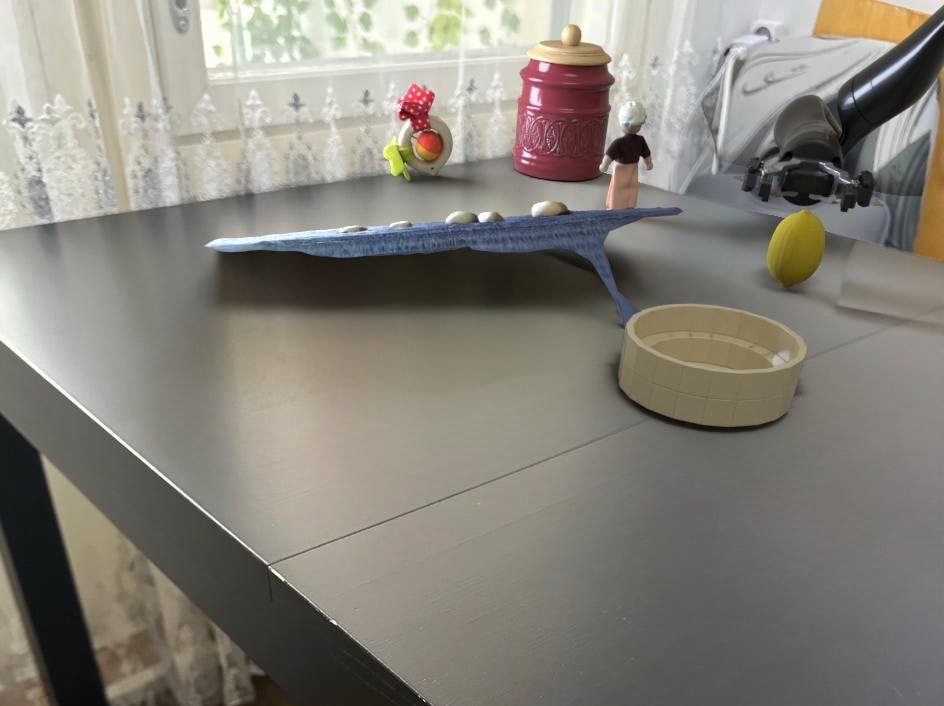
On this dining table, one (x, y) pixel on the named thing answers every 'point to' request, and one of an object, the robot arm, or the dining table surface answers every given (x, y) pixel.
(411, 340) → the dining table surface
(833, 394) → the dining table surface
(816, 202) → the robot arm
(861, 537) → the dining table surface
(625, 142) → the grandmother figurine
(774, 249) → the lemon
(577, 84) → the kitchen canister
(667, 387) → the bowl
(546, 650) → the dining table surface
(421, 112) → the bird rattle
